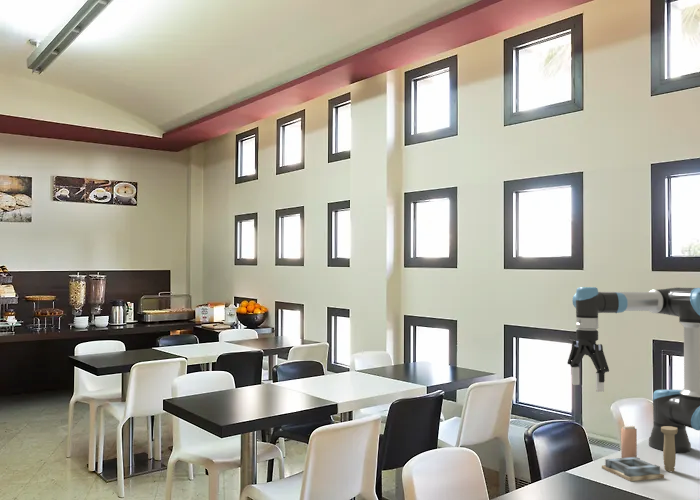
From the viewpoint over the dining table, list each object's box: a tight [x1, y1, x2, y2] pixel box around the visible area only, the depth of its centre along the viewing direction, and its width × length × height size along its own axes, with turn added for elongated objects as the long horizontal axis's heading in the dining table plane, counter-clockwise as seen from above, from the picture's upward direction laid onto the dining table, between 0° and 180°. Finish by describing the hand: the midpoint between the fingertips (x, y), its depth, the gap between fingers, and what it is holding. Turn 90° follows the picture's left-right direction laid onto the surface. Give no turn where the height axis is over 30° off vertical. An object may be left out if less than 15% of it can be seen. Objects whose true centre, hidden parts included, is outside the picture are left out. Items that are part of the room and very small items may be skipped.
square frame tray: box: [601, 456, 665, 482], centre depth 213 cm, size 14×14×4 cm
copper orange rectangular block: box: [620, 425, 638, 458], centre depth 227 cm, size 5×5×13 cm
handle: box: [661, 426, 678, 473], centre depth 216 cm, size 5×6×15 cm
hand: (587, 388), depth 221 cm, fingers open, 13 cm apart
